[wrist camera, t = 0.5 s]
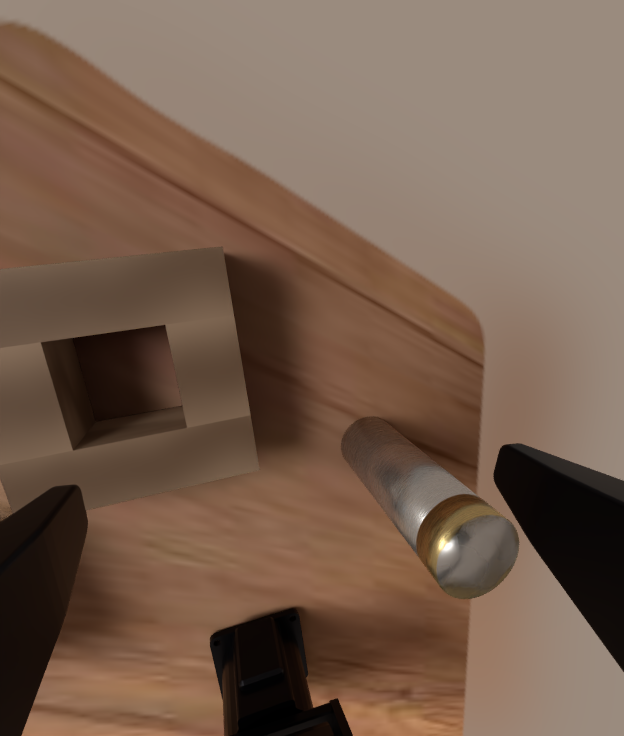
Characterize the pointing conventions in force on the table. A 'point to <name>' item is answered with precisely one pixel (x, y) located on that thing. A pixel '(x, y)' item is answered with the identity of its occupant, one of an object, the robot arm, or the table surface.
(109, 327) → the block
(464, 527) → the steel pin
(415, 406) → the table surface
